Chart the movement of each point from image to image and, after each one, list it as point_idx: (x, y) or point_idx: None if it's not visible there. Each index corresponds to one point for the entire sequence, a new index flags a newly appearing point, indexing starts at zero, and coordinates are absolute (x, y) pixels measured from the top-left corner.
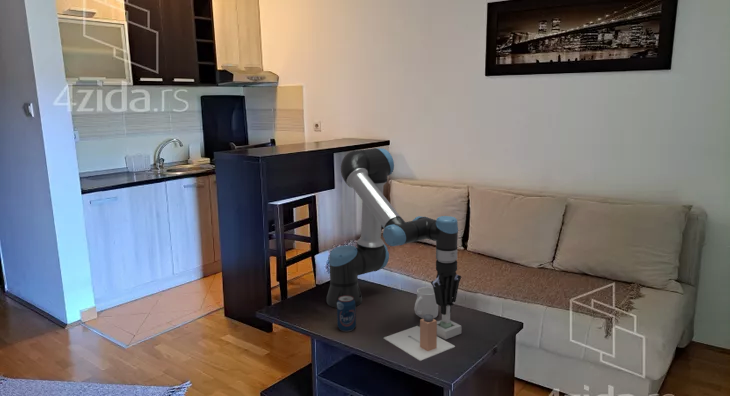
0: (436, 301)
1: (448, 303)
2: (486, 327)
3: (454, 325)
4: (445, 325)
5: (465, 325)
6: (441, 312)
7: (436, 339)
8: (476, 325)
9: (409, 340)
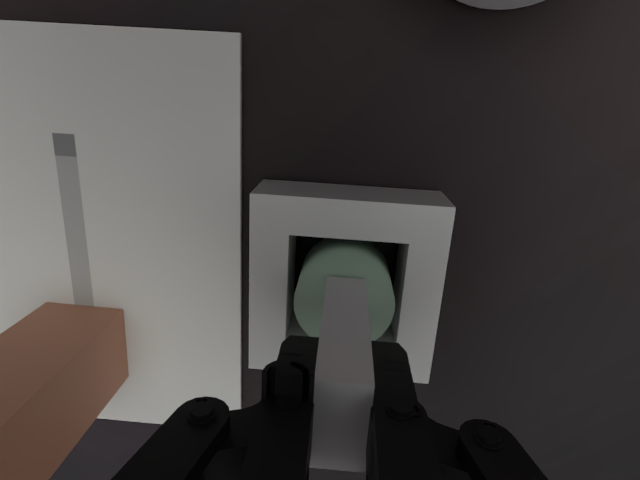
0: (153, 444)
1: (367, 463)
2: (631, 399)
3: (397, 339)
4: (306, 328)
5: (558, 286)
6: (280, 354)
7: (96, 416)
8: (615, 338)
9: (29, 192)
